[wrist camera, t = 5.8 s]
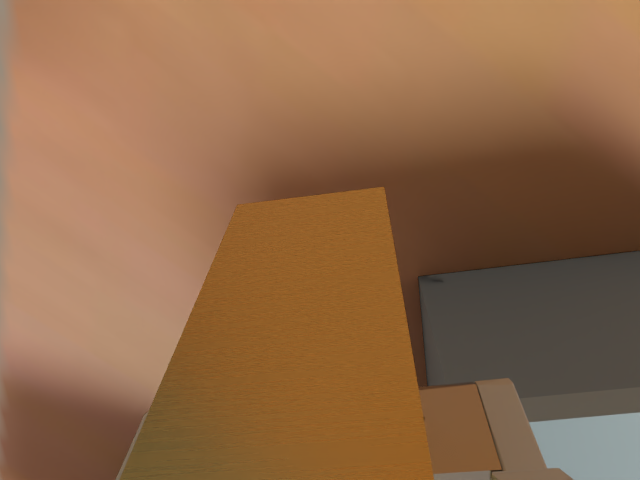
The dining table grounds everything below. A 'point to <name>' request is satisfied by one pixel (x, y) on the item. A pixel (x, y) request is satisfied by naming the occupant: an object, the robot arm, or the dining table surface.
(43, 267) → the dining table surface
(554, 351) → the tissue box
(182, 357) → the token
